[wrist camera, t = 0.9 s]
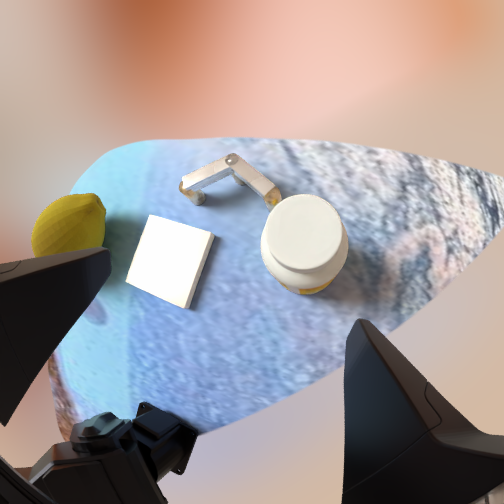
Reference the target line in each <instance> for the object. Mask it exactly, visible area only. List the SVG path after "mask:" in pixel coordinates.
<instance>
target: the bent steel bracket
mask: <svg viewBox="0 0 504 504" xmlns="http://www.w3.org/2000/svg"><path fill="white" fill-rule="evenodd" d="M229 175H232V177H233V178H234V180H235V182H236V183H237V184H239V185H244V184H247V185H248V186H249V187H250V188H252V189H253V190H254V191H255V192H256V193H257V194H259V195H260V196H261V197H262V198H263V199H264V201H265V203H266V205H267V208H268V210H269V212H270V213H271V211H272V210H273V209H274V207H275V206H276V205H277V204H278V203H280V202H281V201H282V198H281V195H280V191H279V189H278V188H277V187H276V186H275V185H274V184H273V183H272V182H271V181H270V180H268V179H267V178H266V177H265V176H263V175H262V174H261V173H260V172H259V171H257V170H256V169H255V168H254V167H252V166H251V165H250V164H248V163H247V162H246V161H245V160H243V159H242V158H241V157H240V156H238V155H237V154H234V153H232V154H229V155H227V156H225V157H223V158H220V159H218V160H216V161H214V162H212V163H210V164H208V165H206V166H204V167H202V168H200V169H198V170H196V171H193V172H192V173H190V174H188V175H186V176H184V177H182V180H183V181H182V182H181V183H180V185H179V190H180V192H182V193H183V194H184V195H185V196H186V197H187V198H188V199H189V200H190V201H191V202H192V203H193V204H194V205H201V204H203V203H204V201H205V194H204V193H203V192H202V191H201V190H200V189H202V188H204V187H206V186H208V185H210V184H212V183H214V182H216V181H218V180H220V179H223V178H225V177H227V176H229Z"/></svg>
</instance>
